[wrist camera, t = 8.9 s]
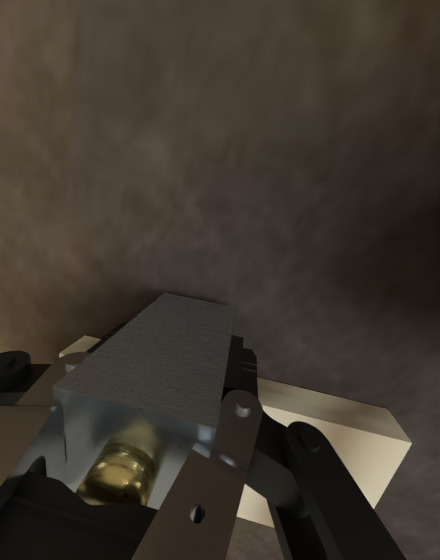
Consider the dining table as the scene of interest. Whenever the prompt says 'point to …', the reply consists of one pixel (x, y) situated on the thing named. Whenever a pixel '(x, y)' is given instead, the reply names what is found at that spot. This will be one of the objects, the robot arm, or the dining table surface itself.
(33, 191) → the dining table surface
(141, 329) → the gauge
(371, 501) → the board
